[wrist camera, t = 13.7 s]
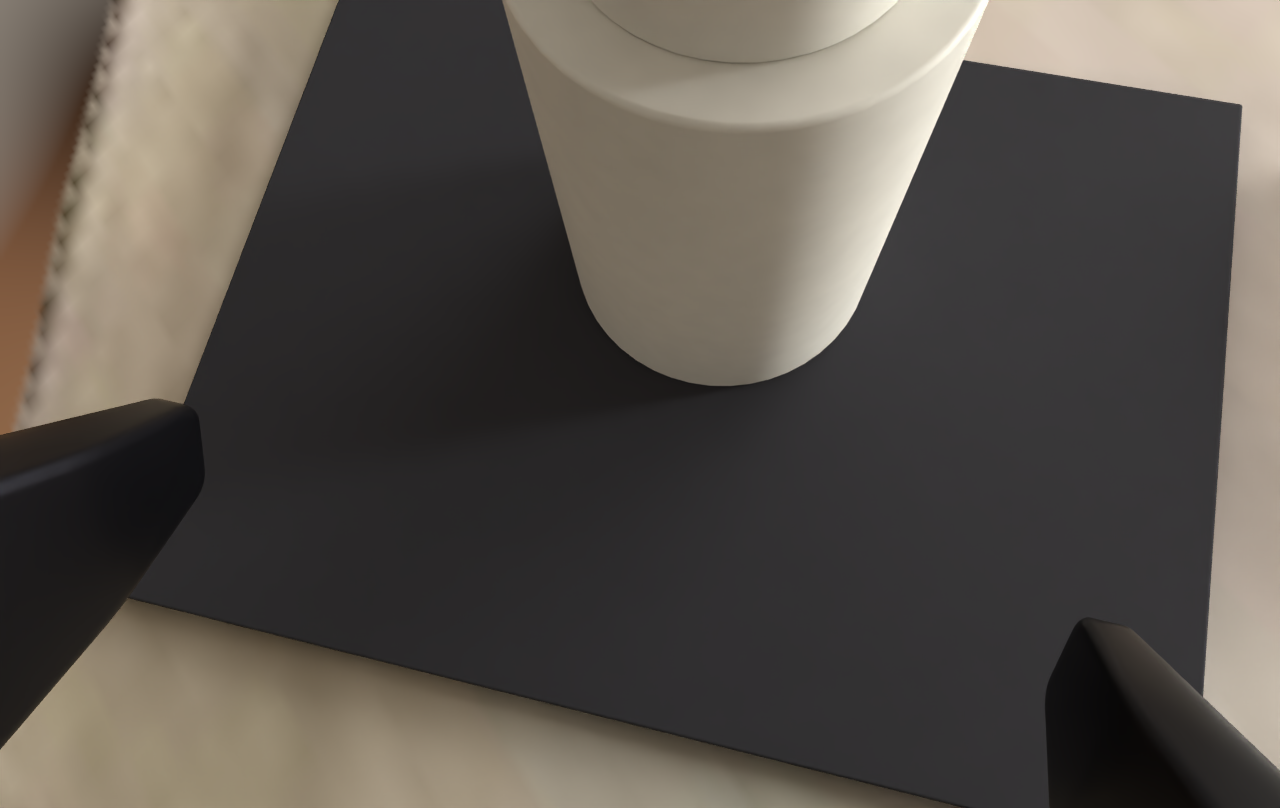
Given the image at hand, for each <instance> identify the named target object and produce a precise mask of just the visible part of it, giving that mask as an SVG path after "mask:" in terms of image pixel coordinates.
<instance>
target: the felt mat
mask: <svg viewBox="0 0 1280 808" xmlns="http://www.w3.org/2000/svg"><path fill="white" fill-rule="evenodd" d="M1241 117H1242V105H1240V104H1233V103H1227V102H1221V101H1215V100H1208V99H1202V98H1196V97H1190V96H1183V95H1177V94H1171V93H1165V92H1158V91H1152V90H1146V89H1140V88H1133V87H1127V86H1121V85H1115V84H1108V83H1102V82H1096V81H1090V80H1083V79H1077V78H1071V77H1065V76H1058V75H1052V74H1046V73H1040V72H1034V71H1027V70H1021V69H1015V68H1009V67H1002V66H996V65H990V64H984V63H977V62H971V61H965V60H963V61H962V64H961V66H960V68H959V71H958V73H957V75H956V78H955V80H954V82H953V85H952V87H951V89H950V92H949V94H948V96H947V99H946V101H945V103H944V106H943V108H942V110H941V113H940V115H939V117H938V120H937V122H936V124H935V127H934V129H933V131H932V133H931V136H930V138H929V140H928V143H927V145H926V147H925V150H924V152H923V154H922V157H921V159H920V161H919V164H918V166H917V168H916V171H915V173H914V175H913V178H912V180H911V182H910V185H909V187H908V189H907V192H906V194H905V196H904V199H903V201H902V203H901V206H900V208H899V210H898V212H897V215H896V217H895V219H894V222H893V224H892V226H891V229H890V231H889V233H888V236H887V238H886V240H885V243H884V245H883V247H882V250H881V252H880V254H879V257H878V259H877V261H876V264H875V266H874V268H873V271H872V273H871V275H870V278H869V280H868V282H867V284H866V287H865V289H864V291H863V294H862V296H861V298H860V301H859V303H858V305H857V308H856V310H855V311H854V313H853V315H852V316H851V318H850V320H849V321H848V323H847V325H846V326H845V327H844V328H843V330H842V331H841V332H840V333H839V335H838V336H837V337H836V338H835V339H834V340H833V341H832V342H831V343H830V344H829V345H828V346H827V347H826V348H825V349H824V350H823V351H822V352H820V353H819V354H818V355H816V356H815V357H813V358H812V359H810V360H809V361H808V362H806V363H805V364H803V365H801V366H799V367H797V368H795V369H793V370H791V371H790V372H788V373H785V374H782V375H780V376H777V377H774V378H772V379H769V380H764V381H760V382H756V383H752V384H744V385H735V386H709V385H702V384H695V383H689V382H685V381H682V380H678V379H675V378H671V377H669V376H666V375H664V374H661V373H659V372H657V371H654V370H652V369H650V368H649V367H647V366H645V365H644V364H642V363H640V362H638V361H637V360H635V359H634V358H633V357H631V356H630V355H629V354H627V353H626V352H625V351H624V350H622V349H621V348H620V347H619V346H618V345H617V344H616V343H615V342H614V341H613V340H612V339H611V338H610V337H609V336H608V335H607V333H606V332H605V331H604V329H603V328H602V327H601V325H600V324H599V323H598V321H597V320H596V318H595V316H594V314H593V313H592V311H591V309H590V307H589V305H588V303H587V300H586V298H585V295H584V292H583V290H582V287H581V283H580V280H579V276H578V272H577V269H576V265H575V261H574V258H573V254H572V251H571V247H570V243H569V240H568V236H567V233H566V229H565V225H564V222H563V218H562V215H561V211H560V207H559V204H558V200H557V196H556V193H555V189H554V186H553V182H552V178H551V175H550V171H549V168H548V164H547V160H546V157H545V153H544V150H543V146H542V142H541V139H540V135H539V131H538V128H537V124H536V121H535V117H534V113H533V110H532V106H531V103H530V99H529V95H528V92H527V88H526V85H525V81H524V77H523V74H522V70H521V66H520V63H519V59H518V56H517V52H516V48H515V45H514V41H513V38H512V34H511V30H510V27H509V23H508V19H507V16H506V12H505V9H504V5H503V1H502V0H339V1H338V4H337V6H336V9H335V12H334V14H333V17H332V19H331V22H330V25H329V27H328V30H327V32H326V35H325V38H324V40H323V43H322V45H321V48H320V51H319V53H318V56H317V58H316V61H315V64H314V66H313V69H312V71H311V74H310V77H309V79H308V82H307V84H306V87H305V90H304V92H303V95H302V97H301V100H300V103H299V105H298V108H297V111H296V113H295V116H294V118H293V121H292V124H291V126H290V129H289V131H288V134H287V137H286V139H285V142H284V144H283V147H282V150H281V152H280V155H279V157H278V160H277V163H276V165H275V168H274V170H273V173H272V176H271V178H270V181H269V183H268V186H267V189H266V191H265V194H264V197H263V199H262V202H261V204H260V207H259V210H258V212H257V215H256V217H255V220H254V223H253V225H252V228H251V230H250V233H249V236H248V238H247V241H246V243H245V246H244V249H243V251H242V254H241V256H240V259H239V262H238V264H237V267H236V269H235V272H234V275H233V277H232V280H231V282H230V285H229V288H228V290H227V293H226V296H225V298H224V301H223V303H222V306H221V309H220V311H219V314H218V316H217V319H216V322H215V324H214V327H213V329H212V332H211V335H210V337H209V340H208V342H207V345H206V348H205V350H204V353H203V355H202V358H201V361H200V363H199V366H198V368H197V371H196V374H195V376H194V379H193V382H192V384H191V387H190V389H189V392H188V395H187V397H186V400H185V402H184V405H188V406H190V407H192V408H193V409H194V410H195V411H196V413H197V415H198V417H199V421H200V429H201V438H202V447H203V456H204V465H205V479H204V484H203V487H202V490H201V492H200V494H199V496H198V497H197V499H196V500H195V502H194V503H193V505H192V506H191V508H190V509H189V511H188V512H187V513H186V515H185V516H184V518H183V519H182V521H181V522H180V524H179V525H178V526H177V528H176V529H175V531H174V532H173V534H172V535H171V537H170V538H169V540H168V541H167V542H166V544H165V545H164V547H163V548H162V550H161V551H160V553H159V554H158V555H157V557H156V558H155V560H154V561H153V563H152V564H151V566H150V567H149V569H148V570H147V571H146V573H145V574H144V576H143V577H142V579H141V580H140V582H139V583H138V584H137V586H136V587H135V589H134V590H133V592H132V593H131V594H130V596H129V597H128V598H130V599H134V600H138V601H142V602H146V603H150V604H154V605H158V606H162V607H166V608H170V609H174V610H178V611H182V612H186V613H190V614H194V615H198V616H202V617H206V618H210V619H214V620H218V621H222V622H226V623H230V624H234V625H238V626H242V627H246V628H250V629H254V630H258V631H262V632H266V633H270V634H274V635H278V636H282V637H286V638H290V639H294V640H298V641H302V642H306V643H310V644H314V645H318V646H322V647H326V648H330V649H334V650H338V651H342V652H345V653H349V654H353V655H357V656H361V657H365V658H369V659H373V660H377V661H381V662H385V663H389V664H393V665H397V666H401V667H405V668H409V669H413V670H417V671H421V672H425V673H429V674H433V675H437V676H441V677H445V678H449V679H453V680H457V681H461V682H465V683H469V684H473V685H477V686H481V687H485V688H489V689H493V690H497V691H501V692H505V693H509V694H513V695H517V696H521V697H525V698H529V699H533V700H537V701H541V702H545V703H549V704H553V705H557V706H561V707H565V708H569V709H573V710H577V711H581V712H585V713H589V714H593V715H597V716H601V717H605V718H609V719H613V720H617V721H621V722H624V723H628V724H632V725H636V726H640V727H644V728H648V729H652V730H656V731H660V732H664V733H668V734H672V735H676V736H680V737H684V738H688V739H692V740H696V741H700V742H704V743H708V744H712V745H716V746H720V747H724V748H728V749H732V750H736V751H740V752H744V753H748V754H752V755H756V756H760V757H764V758H768V759H772V760H776V761H780V762H784V763H788V764H792V765H796V766H800V767H804V768H808V769H812V770H816V771H820V772H824V773H828V774H832V775H836V776H840V777H844V778H848V779H852V780H856V781H860V782H864V783H868V784H872V785H876V786H880V787H884V788H888V789H892V790H896V791H899V792H903V793H907V794H911V795H915V796H919V797H923V798H927V799H931V800H935V801H939V802H943V803H947V804H951V805H955V806H959V807H963V808H1049V790H1048V767H1047V744H1046V721H1045V694H1046V689H1047V685H1048V681H1049V679H1050V676H1051V674H1052V672H1053V670H1054V668H1055V666H1056V664H1057V662H1058V659H1059V657H1060V655H1061V653H1062V651H1063V649H1064V647H1065V645H1066V643H1067V640H1068V638H1069V636H1070V634H1071V632H1072V630H1073V628H1074V626H1075V625H1076V624H1077V623H1078V622H1079V621H1080V620H1081V619H1084V618H1086V617H1091V618H1095V619H1099V620H1103V621H1108V622H1112V623H1116V624H1121V625H1125V626H1127V627H1129V628H1131V629H1132V630H1133V631H1134V632H1135V633H1136V634H1137V635H1139V636H1140V637H1141V638H1142V639H1143V640H1144V641H1145V642H1146V643H1147V644H1148V645H1149V646H1150V647H1151V648H1152V649H1153V650H1154V651H1155V652H1156V653H1157V654H1158V655H1159V656H1160V657H1162V658H1163V659H1164V660H1165V661H1166V662H1167V663H1168V664H1169V665H1170V666H1171V667H1172V668H1173V669H1174V670H1175V671H1176V672H1177V673H1178V674H1179V675H1180V676H1181V677H1182V678H1183V679H1185V680H1186V681H1187V682H1188V683H1189V684H1190V685H1191V686H1192V687H1193V688H1194V689H1195V690H1196V691H1197V692H1198V693H1199V694H1200V695H1201V696H1202V697H1203V688H1204V673H1205V658H1206V643H1207V628H1208V613H1209V598H1210V583H1211V568H1212V553H1213V538H1214V523H1215V508H1216V493H1217V478H1218V463H1219V448H1220V433H1221V418H1222V403H1223V388H1224V373H1225V357H1226V342H1227V327H1228V312H1229V297H1230V282H1231V267H1232V252H1233V237H1234V222H1235V207H1236V192H1237V177H1238V162H1239V147H1240V132H1241Z"/></svg>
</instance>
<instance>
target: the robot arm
mask: <svg viewBox="0 0 1280 808" xmlns="http://www.w3.org/2000/svg"><path fill="white" fill-rule="evenodd" d="M204 479H205V465H204V456H203V447H202V438H201V429H200V421H199V417H198V415H197V413H196V411H195V410H194V409H193V408H192V407H190V406H188V405H184V404H180V403H176V402H171V401H167V400H163V399H149V400H144V401H140V402H136V403H132V404H128V405H124V406H119V407H115V408H111V409H107V410H103V411H99V412H94V413H90V414H86V415H82V416H78V417H74V418H70V419H65V420H61V421H57V422H53V423H49V424H45V425H40V426H36V427H32V428H28V429H24V430H20V431H15V432H11V433H7V434H3V435H0V749H1V748H2V747H3V746H4V745H5V743H6V742H7V741H8V740H9V739H10V738H11V736H12V735H13V734H14V733H15V732H16V731H17V729H18V728H19V727H20V726H21V725H22V723H23V722H24V721H25V720H26V719H27V718H28V716H29V715H30V714H31V713H32V712H33V711H34V709H35V708H36V707H37V706H38V705H39V704H40V702H41V701H42V700H43V699H44V698H45V697H46V695H47V694H48V693H49V692H50V691H51V690H52V688H53V687H54V686H55V685H56V684H57V683H58V681H59V680H60V679H61V678H62V677H63V676H64V674H65V673H66V672H67V671H68V670H69V668H70V667H71V666H72V665H73V664H74V663H75V661H76V660H77V659H78V658H79V657H80V656H81V654H82V653H83V652H84V651H85V650H86V649H87V647H88V646H89V645H90V644H91V643H92V642H93V640H94V639H95V638H96V637H97V636H98V635H99V633H100V632H101V631H102V630H103V629H104V628H105V626H106V625H107V624H108V623H109V621H110V620H111V619H112V618H113V616H114V615H115V614H116V613H117V612H118V610H119V609H120V608H121V606H122V605H123V604H124V602H125V601H126V600H127V598H128V597H129V596H130V594H131V593H132V592H133V590H134V589H135V587H136V586H137V584H138V583H139V582H140V580H141V579H142V577H143V576H144V574H145V573H146V571H147V570H148V569H149V567H150V566H151V564H152V563H153V561H154V560H155V558H156V557H157V555H158V554H159V553H160V551H161V550H162V548H163V547H164V545H165V544H166V542H167V541H168V540H169V538H170V537H171V535H172V534H173V532H174V531H175V529H176V528H177V526H178V525H179V524H180V522H181V521H182V519H183V518H184V516H185V515H186V513H187V512H188V511H189V509H190V508H191V506H192V505H193V503H194V502H195V500H196V499H197V497H198V496H199V494H200V492H201V490H202V487H203V484H204ZM1045 721H1046V744H1047V767H1048V790H1049V808H1280V770H1279V769H1278V768H1277V767H1276V766H1274V765H1273V764H1272V763H1271V762H1270V761H1269V760H1268V759H1267V758H1266V757H1265V756H1264V755H1263V754H1262V753H1261V752H1260V751H1259V750H1258V749H1257V748H1256V747H1255V746H1254V745H1253V744H1251V743H1250V742H1249V741H1248V740H1247V739H1246V738H1245V737H1244V736H1243V735H1242V734H1241V733H1240V732H1239V731H1238V730H1237V729H1236V728H1235V727H1234V726H1233V725H1232V724H1231V723H1230V722H1228V721H1227V720H1226V719H1225V718H1224V717H1223V716H1222V715H1221V714H1220V713H1219V712H1218V711H1217V710H1216V709H1215V708H1214V707H1213V706H1212V705H1211V704H1210V703H1209V702H1208V701H1206V700H1205V699H1204V698H1203V697H1202V696H1201V695H1200V694H1199V693H1198V692H1197V691H1196V690H1195V689H1194V688H1193V687H1192V686H1191V685H1190V684H1189V683H1188V682H1187V681H1186V680H1185V679H1183V678H1182V677H1181V676H1180V675H1179V674H1178V673H1177V672H1176V671H1175V670H1174V669H1173V668H1172V667H1171V666H1170V665H1169V664H1168V663H1167V662H1166V661H1165V660H1164V659H1163V658H1162V657H1160V656H1159V655H1158V654H1157V653H1156V652H1155V651H1154V650H1153V649H1152V648H1151V647H1150V646H1149V645H1148V644H1147V643H1146V642H1145V641H1144V640H1143V639H1142V638H1141V637H1140V636H1139V635H1137V634H1136V633H1135V632H1134V631H1133V630H1132V629H1131V628H1129V627H1127V626H1125V625H1121V624H1116V623H1112V622H1108V621H1103V620H1099V619H1095V618H1091V617H1086V618H1084V619H1081V620H1080V621H1079V622H1078V623H1077V624H1076V625H1075V626H1074V628H1073V630H1072V632H1071V634H1070V636H1069V638H1068V640H1067V643H1066V645H1065V647H1064V649H1063V651H1062V653H1061V655H1060V657H1059V659H1058V662H1057V664H1056V666H1055V668H1054V670H1053V672H1052V674H1051V676H1050V679H1049V681H1048V685H1047V689H1046V694H1045Z"/></svg>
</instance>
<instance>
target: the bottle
mask: <svg viewBox="0 0 1280 808" xmlns="http://www.w3.org/2000/svg"><path fill="white" fill-rule="evenodd" d="M502 1H503V5H504V9H505V12H506V16H507V19H508V23H509V27H510V30H511V34H512V38H513V41H514V45H515V48H516V52H517V56H518V59H519V63H520V66H521V70H522V74H523V77H524V81H525V85H526V88H527V92H528V95H529V99H530V103H531V106H532V110H533V113H534V117H535V121H536V124H537V128H538V131H539V135H540V139H541V142H542V146H543V150H544V153H545V157H546V160H547V164H548V168H549V171H550V175H551V178H552V182H553V186H554V189H555V193H556V196H557V200H558V204H559V207H560V211H561V215H562V218H563V222H564V225H565V229H566V233H567V236H568V240H569V243H570V247H571V251H572V254H573V258H574V261H575V265H576V269H577V272H578V276H579V280H580V283H581V287H582V290H583V292H584V295H585V298H586V300H587V303H588V305H589V307H590V309H591V311H592V313H593V314H594V316H595V318H596V320H597V321H598V323H599V324H600V325H601V327H602V328H603V329H604V331H605V332H606V333H607V335H608V336H609V337H610V338H611V339H612V340H613V341H614V342H615V343H616V344H617V345H618V346H619V347H620V348H621V349H622V350H624V351H625V352H626V353H627V354H629V355H630V356H631V357H633V358H634V359H635V360H637V361H638V362H640V363H642V364H644V365H645V366H647V367H649V368H650V369H652V370H654V371H657V372H659V373H661V374H664V375H666V376H669V377H671V378H675V379H678V380H682V381H685V382H689V383H695V384H702V385H709V386H735V385H744V384H752V383H756V382H760V381H764V380H769V379H772V378H774V377H777V376H780V375H782V374H785V373H788V372H790V371H791V370H793V369H795V368H797V367H799V366H801V365H803V364H805V363H806V362H808V361H809V360H810V359H812V358H813V357H815V356H816V355H818V354H819V353H820V352H822V351H823V350H824V349H825V348H826V347H827V346H828V345H829V344H830V343H831V342H832V341H833V340H834V339H835V338H836V337H837V336H838V335H839V333H840V332H841V331H842V330H843V328H844V327H845V326H846V325H847V323H848V321H849V320H850V318H851V316H852V315H853V313H854V311H855V310H856V308H857V305H858V303H859V301H860V298H861V296H862V294H863V291H864V289H865V287H866V284H867V282H868V280H869V278H870V275H871V273H872V271H873V268H874V266H875V264H876V261H877V259H878V257H879V254H880V252H881V250H882V247H883V245H884V243H885V240H886V238H887V236H888V233H889V231H890V229H891V226H892V224H893V222H894V219H895V217H896V215H897V212H898V210H899V208H900V206H901V203H902V201H903V199H904V196H905V194H906V192H907V189H908V187H909V185H910V182H911V180H912V178H913V175H914V173H915V171H916V168H917V166H918V164H919V161H920V159H921V157H922V154H923V152H924V150H925V147H926V145H927V143H928V140H929V138H930V136H931V133H932V131H933V129H934V127H935V124H936V122H937V120H938V117H939V115H940V113H941V110H942V108H943V106H944V103H945V101H946V99H947V96H948V94H949V92H950V89H951V87H952V85H953V82H954V80H955V78H956V75H957V73H958V71H959V68H960V66H961V64H962V61H963V59H964V57H965V55H966V52H967V50H968V48H969V45H970V43H971V41H972V38H973V36H974V34H975V31H976V29H977V27H978V24H979V22H980V20H981V17H982V15H983V13H984V10H985V8H986V6H987V3H988V1H989V0H502Z"/></svg>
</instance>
